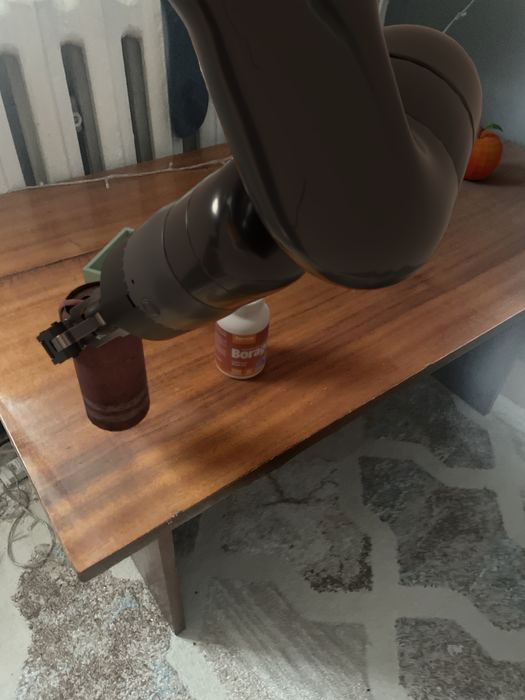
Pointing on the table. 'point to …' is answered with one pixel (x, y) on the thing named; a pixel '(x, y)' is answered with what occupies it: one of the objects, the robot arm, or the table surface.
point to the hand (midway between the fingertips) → (91, 323)
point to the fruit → (484, 153)
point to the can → (110, 374)
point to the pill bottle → (243, 340)
